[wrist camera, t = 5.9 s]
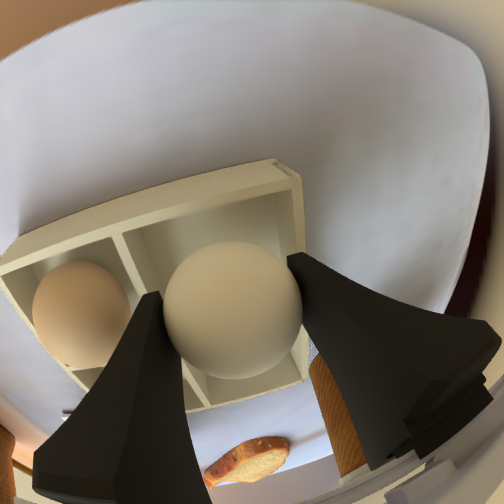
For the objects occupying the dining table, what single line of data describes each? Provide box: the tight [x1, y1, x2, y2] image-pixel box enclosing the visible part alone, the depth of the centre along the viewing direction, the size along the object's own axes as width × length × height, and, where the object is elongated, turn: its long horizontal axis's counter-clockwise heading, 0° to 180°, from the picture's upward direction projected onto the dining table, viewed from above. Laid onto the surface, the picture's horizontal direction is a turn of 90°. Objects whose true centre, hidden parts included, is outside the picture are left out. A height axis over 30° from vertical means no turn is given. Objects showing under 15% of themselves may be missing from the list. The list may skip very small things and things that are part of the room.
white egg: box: [163, 241, 303, 379], centre depth 9 cm, size 5×5×5 cm
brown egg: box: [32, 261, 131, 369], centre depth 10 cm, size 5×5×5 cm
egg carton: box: [0, 158, 309, 413], centre depth 13 cm, size 13×13×3 cm
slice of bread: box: [203, 437, 289, 490], centre depth 31 cm, size 18×18×4 cm
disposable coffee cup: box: [309, 354, 397, 488], centre depth 17 cm, size 10×10×12 cm
